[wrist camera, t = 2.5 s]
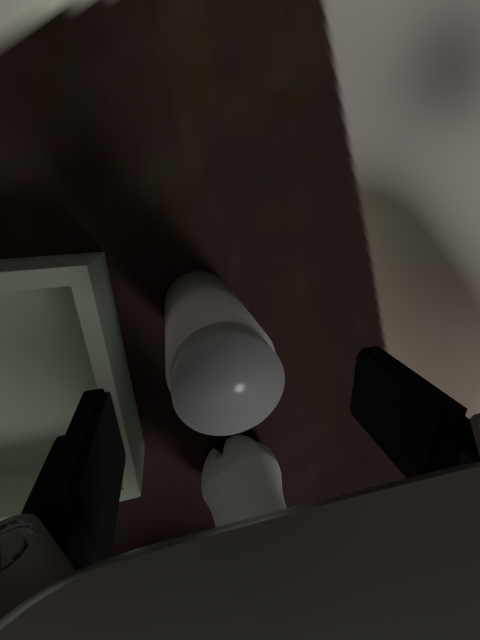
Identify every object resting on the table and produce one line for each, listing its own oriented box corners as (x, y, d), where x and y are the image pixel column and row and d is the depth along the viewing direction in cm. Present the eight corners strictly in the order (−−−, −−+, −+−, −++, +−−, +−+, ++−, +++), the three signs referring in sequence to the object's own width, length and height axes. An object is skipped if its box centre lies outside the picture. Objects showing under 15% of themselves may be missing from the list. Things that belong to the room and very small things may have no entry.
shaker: (234, 331, 24) (288, 426, 14) (169, 339, 23) (174, 450, 13) (230, 268, 22) (290, 323, 12) (159, 274, 21) (156, 341, 11)
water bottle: (246, 413, 28) (620, 1358, 5) (281, 455, 31) (615, 1165, 8) (182, 457, 28) (269, 1583, 5) (224, 495, 31) (395, 1306, 8)
